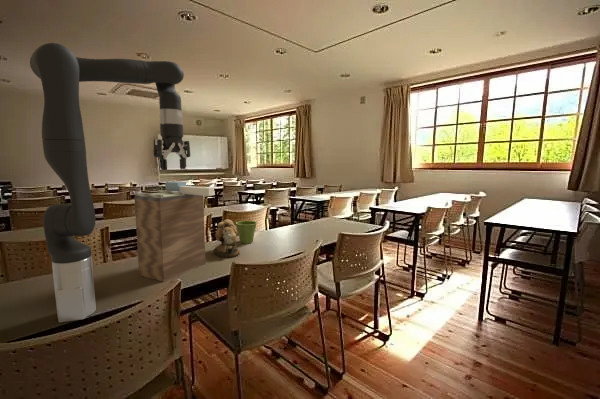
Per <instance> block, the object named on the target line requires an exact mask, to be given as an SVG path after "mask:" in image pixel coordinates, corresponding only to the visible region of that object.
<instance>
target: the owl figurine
mask: <svg viewBox="0 0 600 399" xmlns="http://www.w3.org/2000/svg"><path fill="white" fill-rule="evenodd" d="M238 235H239V233H238V228H237V225H236V224H235V223H234V221H233V220H231V219H224V220H223V221H221V222H218V223H217V229H216V231H215V239H216V241H218V242H220V244H218V246H216V247H215V248H214V249H213V250H212V251H213V252H212V253H213V254H214V255H215V256H217V257H219V258H221V259H222V258H224V259H226V258H227V259H233V258H237V257H239V256H240V250H239V249H238V248H237V246H236V245H237V236H238ZM238 255H239V256H238ZM236 256H237V257H236ZM232 257H233V258H232Z"/></svg>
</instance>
